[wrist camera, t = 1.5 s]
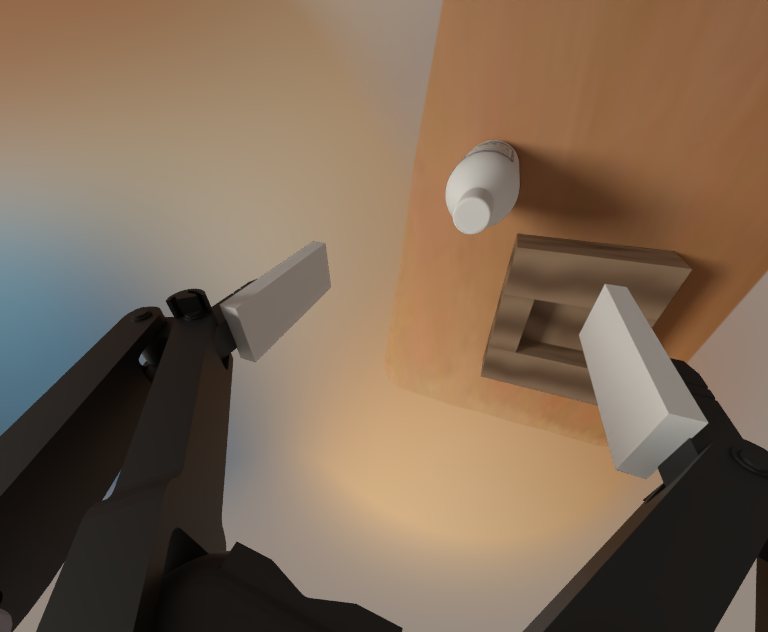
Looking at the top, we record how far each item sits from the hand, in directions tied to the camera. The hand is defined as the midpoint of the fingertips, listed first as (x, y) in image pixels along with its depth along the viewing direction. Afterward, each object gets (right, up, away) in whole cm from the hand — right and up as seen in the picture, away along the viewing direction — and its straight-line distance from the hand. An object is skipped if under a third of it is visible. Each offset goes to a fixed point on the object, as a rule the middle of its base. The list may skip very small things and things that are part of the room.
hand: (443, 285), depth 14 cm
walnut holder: (+24, -1, +31) cm, 39 cm away
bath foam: (+11, +17, +23) cm, 31 cm away
